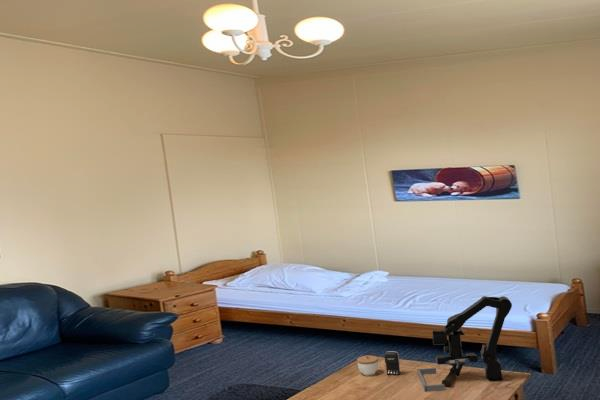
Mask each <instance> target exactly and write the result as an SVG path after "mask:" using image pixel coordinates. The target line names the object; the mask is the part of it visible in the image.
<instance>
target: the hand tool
mask: <svg viewBox="0 0 600 400" xmlns="http://www.w3.org/2000/svg"><path fill="white" fill-rule="evenodd" d="M456 378H457V375H456V373H455V371H454V368H453V366H452V367H451V368H450V369H449V372H448V373H447V375H446V376H445V378H444V379H442V380H441V384H444V385H445V388H450V387H451V386H452V383H453V381H454V379H456Z"/></svg>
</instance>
